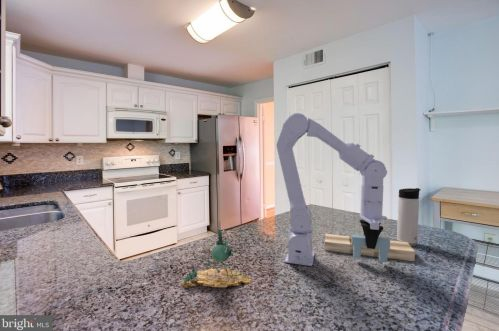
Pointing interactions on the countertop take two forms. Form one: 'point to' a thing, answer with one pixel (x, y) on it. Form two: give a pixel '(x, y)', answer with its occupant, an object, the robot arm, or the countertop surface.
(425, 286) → the countertop surface
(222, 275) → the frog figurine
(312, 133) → the robot arm
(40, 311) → the countertop surface
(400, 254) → the rail
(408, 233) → the travel mug
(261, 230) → the countertop surface
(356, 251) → the clip
